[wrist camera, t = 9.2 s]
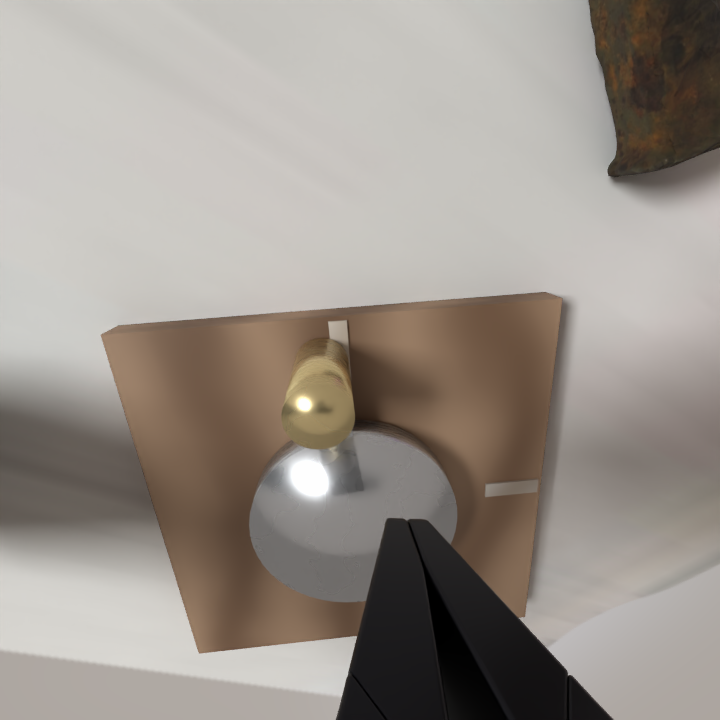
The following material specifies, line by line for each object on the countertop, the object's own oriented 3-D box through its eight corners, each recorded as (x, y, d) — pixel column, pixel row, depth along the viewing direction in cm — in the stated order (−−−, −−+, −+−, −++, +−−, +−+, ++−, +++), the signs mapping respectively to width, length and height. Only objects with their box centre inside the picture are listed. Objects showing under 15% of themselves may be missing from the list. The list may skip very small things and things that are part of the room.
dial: (456, 559, 22) (489, 651, 18) (281, 592, 22) (268, 693, 18) (429, 317, 17) (465, 356, 12) (203, 359, 17) (154, 413, 12)
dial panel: (206, 628, 25) (198, 654, 24) (118, 325, 18) (99, 335, 17) (514, 595, 26) (525, 618, 24) (545, 292, 19) (563, 298, 17)
